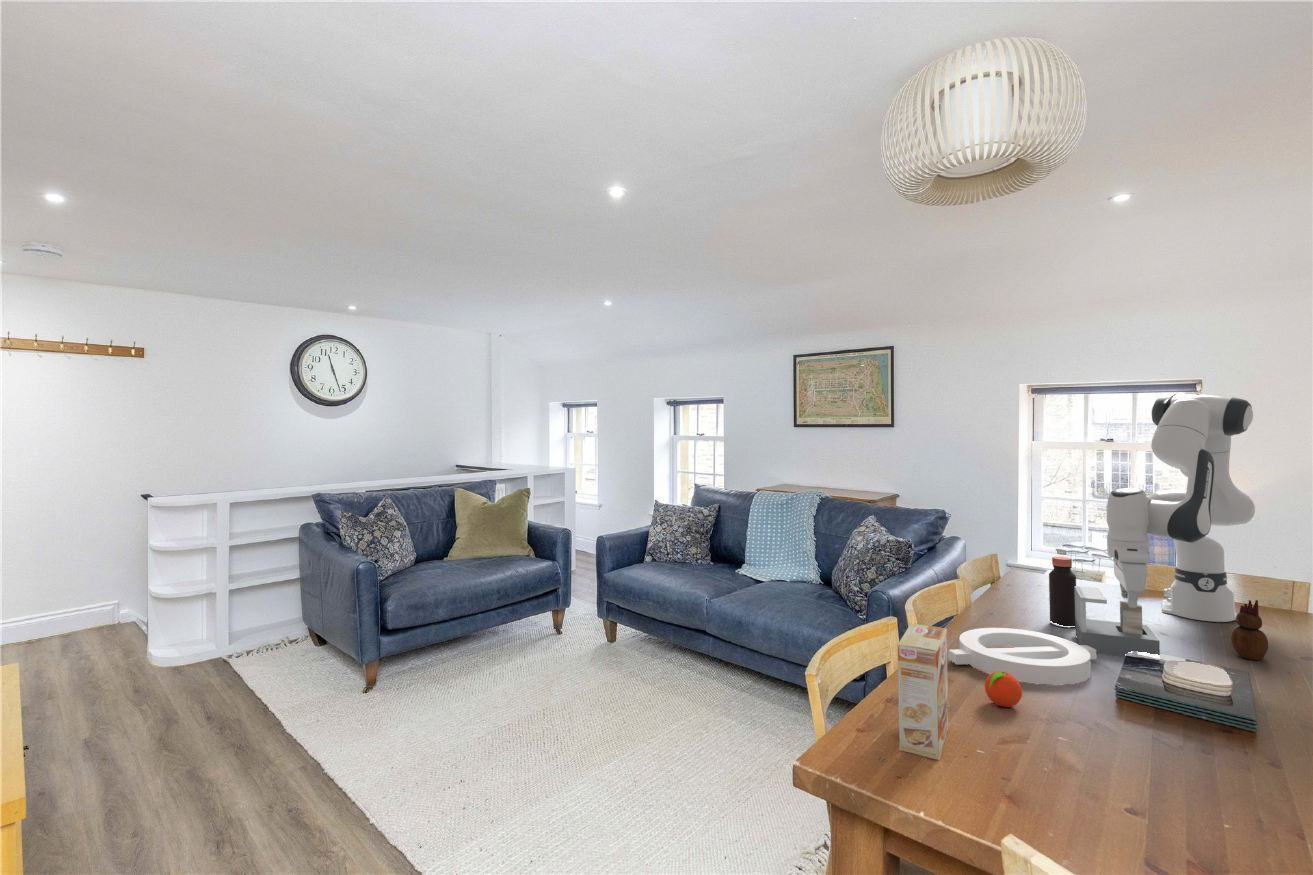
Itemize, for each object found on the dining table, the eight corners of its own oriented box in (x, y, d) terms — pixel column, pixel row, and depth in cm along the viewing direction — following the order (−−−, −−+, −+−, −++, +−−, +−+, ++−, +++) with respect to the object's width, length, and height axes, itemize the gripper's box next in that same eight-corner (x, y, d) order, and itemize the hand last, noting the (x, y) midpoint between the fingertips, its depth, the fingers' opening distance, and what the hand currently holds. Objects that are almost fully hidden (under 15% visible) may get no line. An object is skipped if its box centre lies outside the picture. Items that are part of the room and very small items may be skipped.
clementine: (1006, 716, 123) (1005, 681, 123) (974, 703, 129) (973, 670, 129) (1029, 708, 127) (1029, 674, 127) (997, 695, 133) (997, 663, 133)
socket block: (1075, 635, 171) (1074, 585, 171) (1147, 643, 163) (1146, 591, 163) (1082, 650, 159) (1080, 597, 159) (1159, 660, 151) (1158, 604, 151)
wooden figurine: (1274, 663, 148) (1272, 602, 148) (1246, 662, 149) (1245, 601, 149) (1253, 653, 155) (1251, 595, 155) (1226, 652, 156) (1225, 594, 156)
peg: (1120, 645, 162) (1119, 601, 162) (1139, 647, 160) (1138, 602, 160) (1123, 650, 159) (1122, 604, 159) (1142, 652, 157) (1141, 606, 157)
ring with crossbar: (944, 666, 151) (944, 647, 151) (977, 638, 172) (977, 621, 172) (1080, 697, 132) (1080, 675, 132) (1098, 661, 152) (1098, 642, 152)
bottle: (1052, 627, 179) (1051, 559, 179) (1047, 620, 185) (1046, 555, 185) (1079, 629, 176) (1078, 560, 177) (1073, 622, 183) (1072, 556, 183)
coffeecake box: (940, 761, 107) (938, 650, 107) (897, 750, 110) (895, 643, 110) (950, 726, 119) (948, 627, 119) (911, 718, 123) (909, 622, 123)
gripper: (1106, 542, 170) (1107, 591, 171) (1119, 556, 153) (1120, 611, 153) (1135, 544, 167) (1136, 593, 168) (1151, 558, 150) (1152, 614, 150)
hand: (1128, 602), depth 160 cm, fingers open, 8 cm apart
